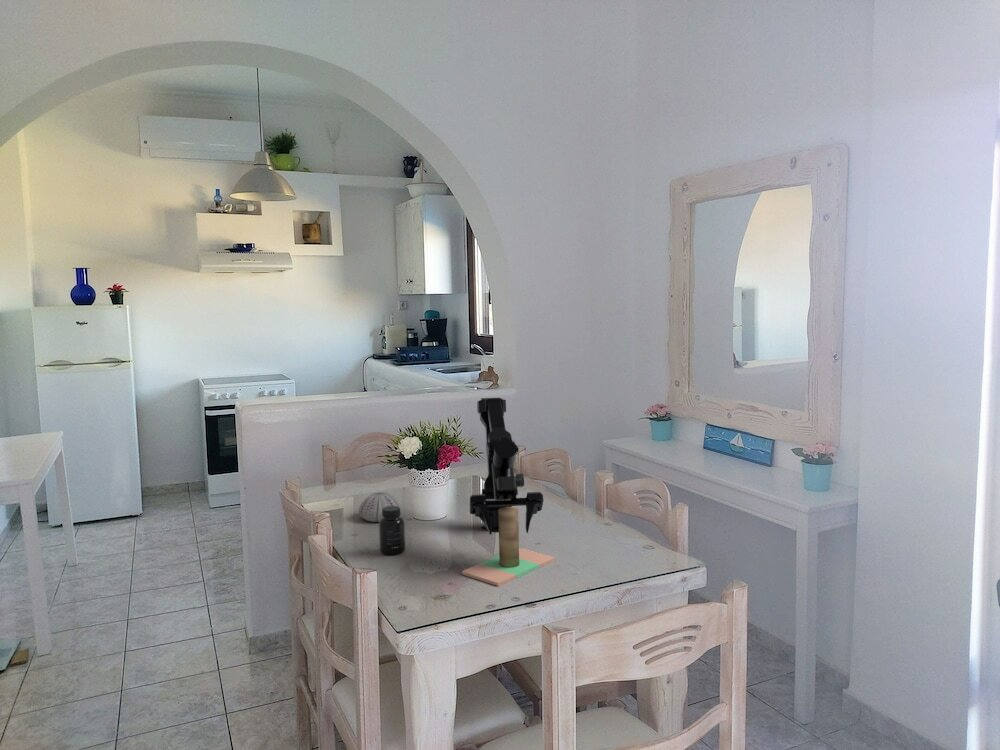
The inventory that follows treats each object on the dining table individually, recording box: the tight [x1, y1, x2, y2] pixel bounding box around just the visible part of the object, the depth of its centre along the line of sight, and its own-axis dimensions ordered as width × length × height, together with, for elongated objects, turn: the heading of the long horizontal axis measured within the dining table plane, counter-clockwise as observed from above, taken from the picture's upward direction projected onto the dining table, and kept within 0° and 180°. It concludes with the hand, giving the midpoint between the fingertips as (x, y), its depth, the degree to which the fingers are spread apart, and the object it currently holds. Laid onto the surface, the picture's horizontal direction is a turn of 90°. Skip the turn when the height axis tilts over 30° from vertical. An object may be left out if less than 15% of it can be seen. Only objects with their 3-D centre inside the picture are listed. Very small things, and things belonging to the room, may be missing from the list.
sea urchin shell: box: [358, 491, 402, 523], centre depth 227 cm, size 13×14×8 cm
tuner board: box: [461, 547, 556, 587], centre depth 183 cm, size 22×12×1 cm, turn 139°
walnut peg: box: [498, 506, 520, 568], centre depth 182 cm, size 5×5×14 cm
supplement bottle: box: [378, 506, 406, 557], centre depth 195 cm, size 7×7×12 cm
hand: (509, 533), depth 182 cm, fingers open, 9 cm apart
